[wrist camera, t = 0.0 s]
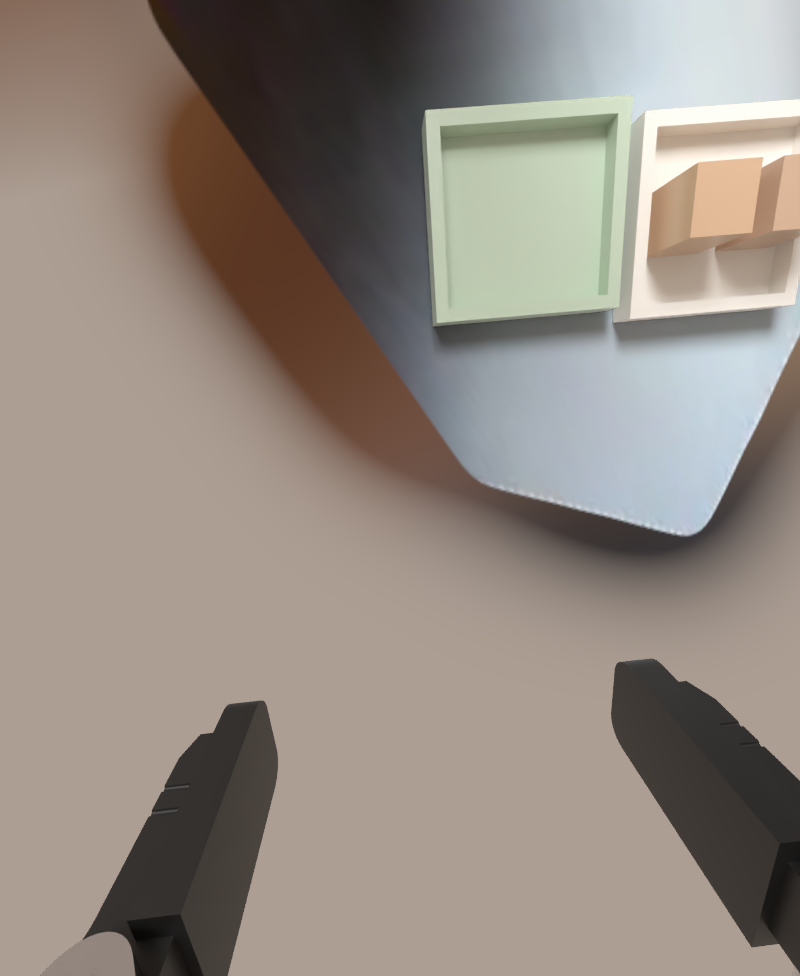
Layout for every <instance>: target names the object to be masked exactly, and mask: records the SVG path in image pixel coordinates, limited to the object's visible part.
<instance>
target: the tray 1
mask: <svg viewBox="0 0 800 976" xmlns="http://www.w3.org/2000/svg"><path fill="white" fill-rule="evenodd" d="M632 104H633V95H623V96H610V97H596V98H583V99H569V100H556V101H542V102H529V103H515V104H502V105H488V106H475V107H461V108H448V109H434V110H425V114H424V120H423V125H422V149H423V166H424V183H425V200H426V217H427V234H428V251H429V268H430V286H431V303H432V320H433V327H434V326H445V325H457V324H468V323H479V322H491V321H502V320H514V319H525V318H536V317H548V316H559V315H570V314H582V313H593V312H603V311H607V310H610V309H614V308H617V307H619V300H620V285H621V270H622V254H623V239H624V224H625V209H626V194H627V179H628V164H629V149H630V134H631V119H632Z"/></svg>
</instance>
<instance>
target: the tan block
mask: <svg viewBox="0 0 800 976" xmlns="http://www.w3.org/2000/svg"><path fill="white" fill-rule="evenodd" d="M798 237H800V154H795V155H784V156H783V157H781V158H779V159H777V160H775V161H773V162H771V163H770V164H768V165H766V166H764V167H762V169H761V176H760V183H759V189H758V196H757V203H756V210H755V216H754V223H753V230H752V233H750V234H747V235H745V236H742V237H740V238H737V239H734V240H732V241H729V242H726V243H724V244H721V245H718V246H716V247H715V252H721V251H733V250H745V249H757V248H768V247H771V246H774V245H777V244H780V243H783V242H786V241H789V240H792V239H795V238H798Z"/></svg>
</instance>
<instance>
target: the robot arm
mask: <svg viewBox="0 0 800 976" xmlns="http://www.w3.org/2000/svg"><path fill="white" fill-rule="evenodd" d="M611 718H612V724H613V728H614V731H615V734H616V737H617V739H618V741H619V743H620V745H621V747H622V748H623V750H624V752H625V753H626V755H627V756H628V758H629V759H630V761H631V762H632V764H633V765H634V767H635V768H636V770H637V772H638V773H639V775H640V776H641V778H642V779H643V781H644V782H645V784H646V785H647V787H648V788H649V790H650V791H651V793H652V795H653V796H654V798H655V799H656V801H657V802H658V804H659V805H660V807H661V808H662V810H663V812H664V813H665V815H666V816H667V817H668V819H669V821H670V822H671V824H672V825H673V827H674V828H675V830H676V832H677V833H678V834H679V836H680V838H681V839H682V841H683V842H684V844H685V845H686V847H687V848H688V850H689V852H690V853H691V855H692V856H693V858H694V859H695V861H696V862H697V864H698V865H699V867H700V868H701V870H702V872H703V873H704V875H705V876H706V878H707V879H708V881H709V882H710V884H711V885H712V887H713V888H714V890H715V891H716V893H717V895H718V896H719V897H720V899H721V901H722V902H723V904H724V905H725V907H726V908H727V910H728V912H729V913H730V915H731V916H732V918H733V919H734V921H735V922H736V924H737V925H738V927H739V928H740V930H741V932H742V933H743V934H744V936H745V938H746V939H747V941H748V942H749V944H750V945H751V947H758V946H765V945H773V944H780V946H781V947H782V949H783V950H784V951H785V953H786V954H787V956H788V957H789V959H790V960H791V961H792V963H793V964H794V968H793V976H800V781H799V780H798V779H797V778H796V777H795V776H794V775H793V774H792V773H791V772H790V771H789V770H788V769H787V768H786V767H785V766H784V765H783V764H781V762H780V761H779V760H778V759H776V758H775V756H773V755H772V754H771V753H770V752H769V751H768V750H767V749H766V748H765V747H761V746H760V744H759V741H758V740H757V739H756V738H755V737H754V736H753V735H752V734H751V733H749V731H748V730H746V728H745V727H743V726H742V727H741V726H740V725H739V722H738V721H737V720H736V719H735V718H734V717H733V716H732V715H731V714H730V713H729V712H728V711H727V710H726V709H725V708H724V707H723V706H722V705H721V704H720V703H719V702H718V701H717V700H716V699H714V698H713V697H711V696H709V695H708V694H706V693H705V692H703V691H701V690H700V689H698V688H697V687H695V686H693V685H692V684H690V683H688V682H687V681H683V682H678V681H677V680H676V679H675V678H674V677H673V676H672V675H671V674H670V673H669V672H668V670H666V669H665V667H664V666H663V665H661V664H660V663H659V662H658V661H657V660H655V659H644V660H635V661H626V662H619V663H617V665H616V667H615V675H614V687H613V699H612V710H611ZM277 771H278V756H277V749H276V744H275V740H274V736H273V731H272V727H271V723H270V718H269V714H268V710H267V706H266V704H265V702H264V701H254V702H244V703H235V704H229V705H227V706H226V708H225V709H224V711H223V713H222V715H221V718H220V720H219V722H218V724H217V726H216V728H215V730H214V732H213V733H209V734H201V735H200V736H199V737H198V738H197V739H196V740H195V741H194V742H193V743H192V745H191V746H190V747H189V748H188V749H187V750H186V751H185V752H184V754H183V755H182V756H181V757H180V758H179V760H178V762H177V763H176V765H175V767H174V769H173V771H172V773H171V775H170V777H169V779H168V780H167V782H166V784H165V789H164V792H161V794H160V796H159V798H158V800H157V802H156V804H155V806H154V808H153V809H152V815H151V816H150V817H148V819H147V821H146V823H145V825H144V827H143V829H142V830H141V833H140V834H139V836H138V838H137V840H136V842H135V844H134V846H133V848H132V850H131V852H130V854H129V856H128V857H127V859H126V861H125V863H124V865H123V867H122V869H121V871H120V873H119V875H118V877H117V879H116V880H115V883H114V884H113V886H112V888H111V890H110V892H109V894H108V896H107V898H106V900H105V902H104V903H103V905H102V907H101V909H100V911H99V913H98V915H97V917H96V919H95V921H94V922H93V924H92V926H91V928H90V929H89V931H88V932H87V934H86V935H85V937H84V938H83V940H82V941H80V942H78V943H77V944H75V945H74V946H72V947H71V948H69V949H68V950H67V951H66V952H64V953H63V954H62V955H61V956H59V957H58V958H57V959H56V960H55V961H54V962H53V963H52V964H51V965H50V966H49V967H48V968H47V969H46V970H45V971H44V972H43V973H42V974H41V975H40V976H228V972H229V968H230V964H231V959H232V955H233V952H234V947H235V944H236V940H237V936H238V932H239V928H240V924H241V920H242V916H243V912H244V908H245V904H246V900H247V896H248V892H249V888H250V884H251V880H252V876H253V872H254V868H255V864H256V860H257V856H258V852H259V848H260V845H261V841H262V837H263V833H264V829H265V824H266V821H267V817H268V813H269V809H270V805H271V801H272V797H273V793H274V789H275V785H276V779H277Z"/></svg>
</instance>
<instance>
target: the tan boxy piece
mask: <svg viewBox="0 0 800 976" xmlns="http://www.w3.org/2000/svg"><path fill="white" fill-rule="evenodd" d="M762 162H763V157H756V158H744V159H731V160H718V161H706V162H698V163H696V164H695V165H693V166H692V167H690V168H689V169H687V170H686V171H684V172H683V173H681V174H680V175H678V176H677V177H675V178H674V179H672V180H671V181H669V182H668V183H666V184H665V185H663V186H662V187H660V188H659V189H657V190H656V191H654V192H653V193H652V201H651V213H650V225H649V238H648V250H647V258H651V257H662V256H674V255H686V254H697V253H700V252H703V251H705V250H708V249H710V248H713V247H716V246H718V245H721V244H724V243H726V242H729V241H732V240H734V239H737V238H740V237H742V236H745V235H747V234H750V233H752V230H753V223H754V216H755V210H756V203H757V196H758V189H759V183H760V176H761V169H762Z"/></svg>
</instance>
